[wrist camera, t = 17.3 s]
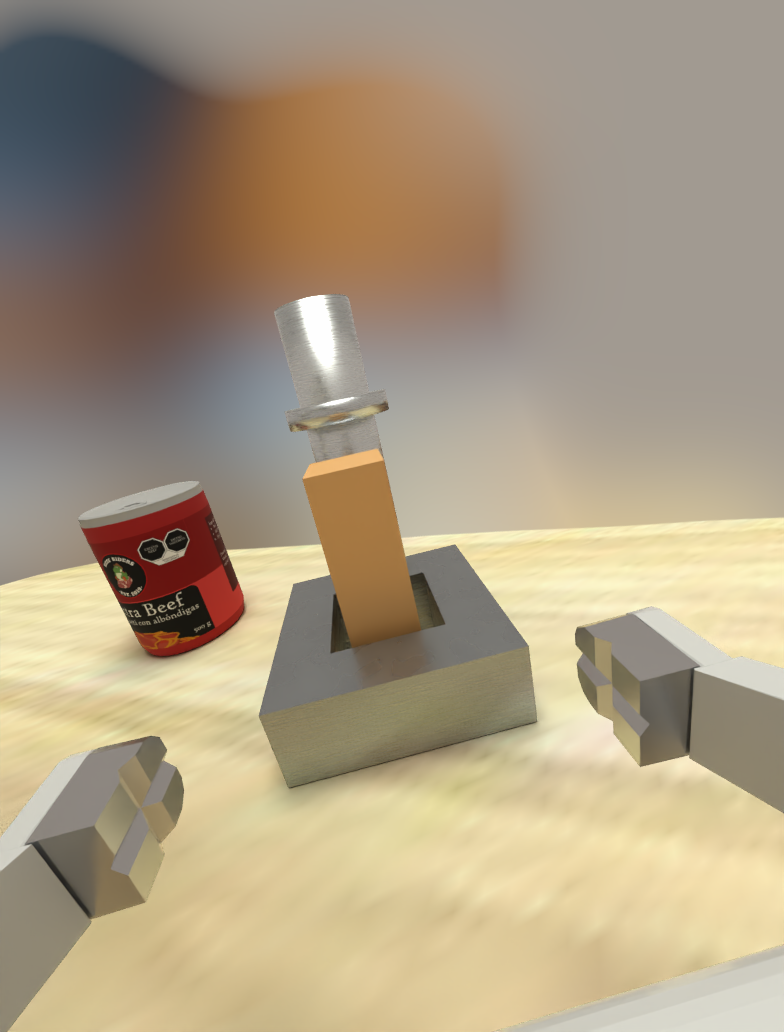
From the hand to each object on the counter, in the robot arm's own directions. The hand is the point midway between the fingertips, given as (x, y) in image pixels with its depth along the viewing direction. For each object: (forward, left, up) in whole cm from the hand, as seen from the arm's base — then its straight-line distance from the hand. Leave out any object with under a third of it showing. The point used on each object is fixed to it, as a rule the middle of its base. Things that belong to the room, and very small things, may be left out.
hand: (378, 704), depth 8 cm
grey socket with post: (+10, +11, -9) cm, 17 cm away
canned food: (+5, +27, -10) cm, 29 cm away
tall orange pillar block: (+8, +9, -9) cm, 15 cm away
